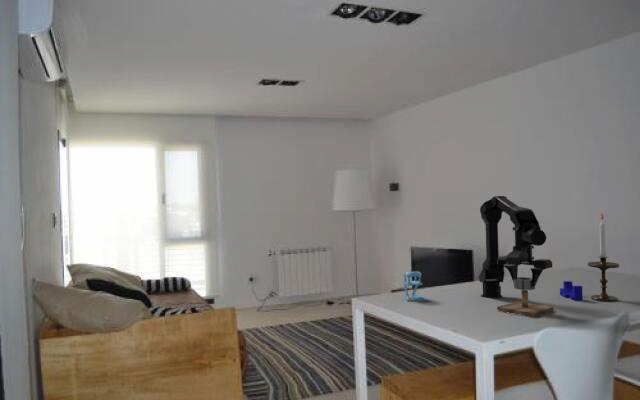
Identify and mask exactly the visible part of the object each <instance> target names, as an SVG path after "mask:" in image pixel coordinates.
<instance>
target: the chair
mask: <svg viewBox="0 0 640 400" xmlns="http://www.w3.org/2000/svg"><path fill="white" fill-rule="evenodd" d="M413 277H414V280H411V279H410V278H413ZM417 277H418V280H417ZM403 278H404V279H403V281H402V284H403V288H404V292H405V298H406V302H419V301H420V302H421V301H425V300H426V299H425V297H423V296H419V295H416V292H417V289H418V287H419V286H423V282H421V278H422V273H421V271H411V272H409V271H406V272H403ZM411 286H414V289H413V291H412V293H411V298H409V293H408V292H409V291H408V288H407V287H411Z"/></svg>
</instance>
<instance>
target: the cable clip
mask: <svg viewBox="0 0 640 400" xmlns="http://www.w3.org/2000/svg"><path fill="white" fill-rule="evenodd" d="M562 282H563V284H562V286H563V288H562V287H561V288H559V296H561V297H563V298H564V297H565V298H564V299H570V300H572V301H574V302H583V286H582V285H573V281H571V280H563V281H562Z"/></svg>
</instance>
